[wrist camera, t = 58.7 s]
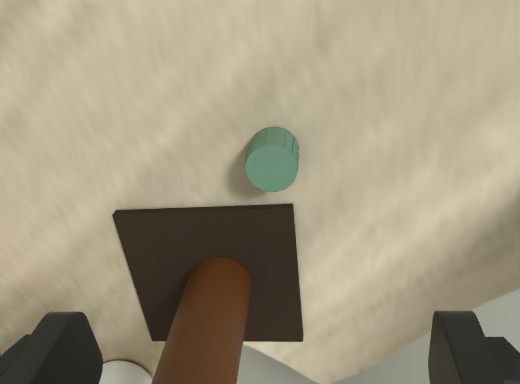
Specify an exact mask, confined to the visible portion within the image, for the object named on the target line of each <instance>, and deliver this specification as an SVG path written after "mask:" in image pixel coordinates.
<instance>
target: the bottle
mask: <svg viewBox="0 0 520 384" xmlns="http://www.w3.org/2000/svg"><path fill="white" fill-rule="evenodd" d="M251 290H252V280H251V277H250V275H249V273H248V272H247V270H246V269H245V268H244V267H243V266H241V265H240V264H239V263H237V262H235V261H233V260H230V259H227V258H222V257H211V258H207V259H204V260H202V261H200V262H198V263H197V264H196V265H195V266H194V267H193V268H192V270H191V272H190V275H189V278H188V280H187V283H186V286H185V289H184V292H183V295H182V298H181V300H180V303H179V306H178V309H177V312H176V315H175V318H174V321H173V323H172V326H171V329H170V332H169V335H168V338H167V341H166V343H165V346H164V349H163V352H162V355H161V358H160V361H159V363H158V366H157V369H156V372H155V375H154V378H153V381H152V383H151V384H236V382H237V375H238V369H239V363H240V357H241V351H242V345H243V339H244V333H245V327H246V320H247V314H248V308H249V302H250V296H251Z"/></svg>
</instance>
